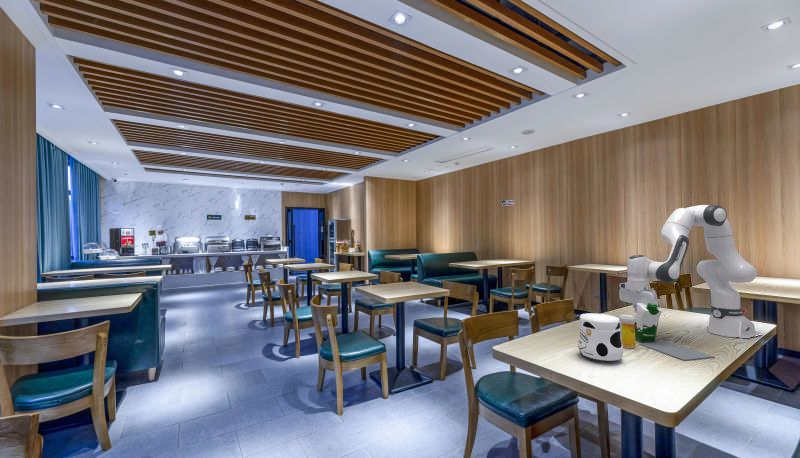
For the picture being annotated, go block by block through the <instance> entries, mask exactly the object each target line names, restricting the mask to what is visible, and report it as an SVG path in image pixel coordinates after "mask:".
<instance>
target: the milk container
mask: <svg viewBox="0 0 800 458" xmlns="http://www.w3.org/2000/svg"><path fill="white" fill-rule="evenodd" d="M577 348H578V352H579V353H580V354H581V355H582V357H585V358H586V359H589V360H592V361H596V362H604V363H614V362H619V361H621V360H622V359H623V356H624V347H623V346H622V343H621V338H620V317H617V316H614V315H611V314H605V313H593V312H591V313H590V312H589V313H582V314H580V315H579V338H578V342H577Z"/></svg>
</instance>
